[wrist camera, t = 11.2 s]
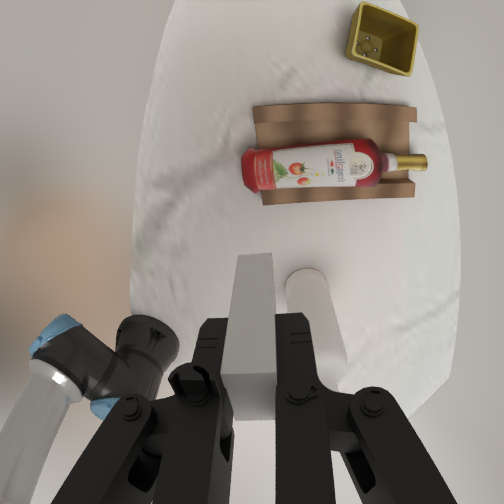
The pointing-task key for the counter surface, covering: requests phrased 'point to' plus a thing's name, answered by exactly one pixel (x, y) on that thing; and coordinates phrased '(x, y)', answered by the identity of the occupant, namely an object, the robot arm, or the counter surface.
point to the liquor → (323, 165)
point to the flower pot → (383, 39)
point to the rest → (331, 129)
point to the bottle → (319, 323)
